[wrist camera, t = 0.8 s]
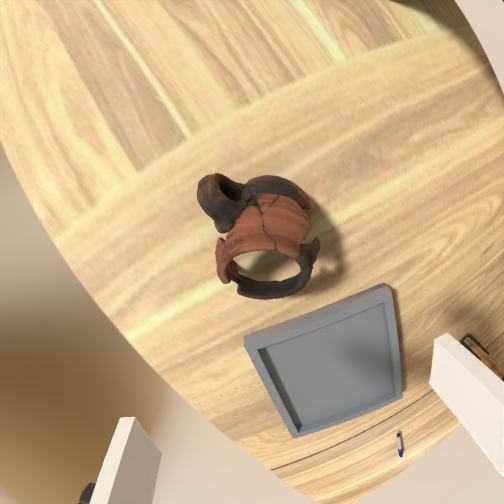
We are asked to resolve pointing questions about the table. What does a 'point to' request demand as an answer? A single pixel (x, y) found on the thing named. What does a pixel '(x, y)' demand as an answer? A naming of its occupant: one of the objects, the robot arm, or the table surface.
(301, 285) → the broken brown clay pot
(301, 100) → the table surface
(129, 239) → the table surface
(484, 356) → the ammunition clip
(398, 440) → the ballpoint pen
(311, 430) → the tray
